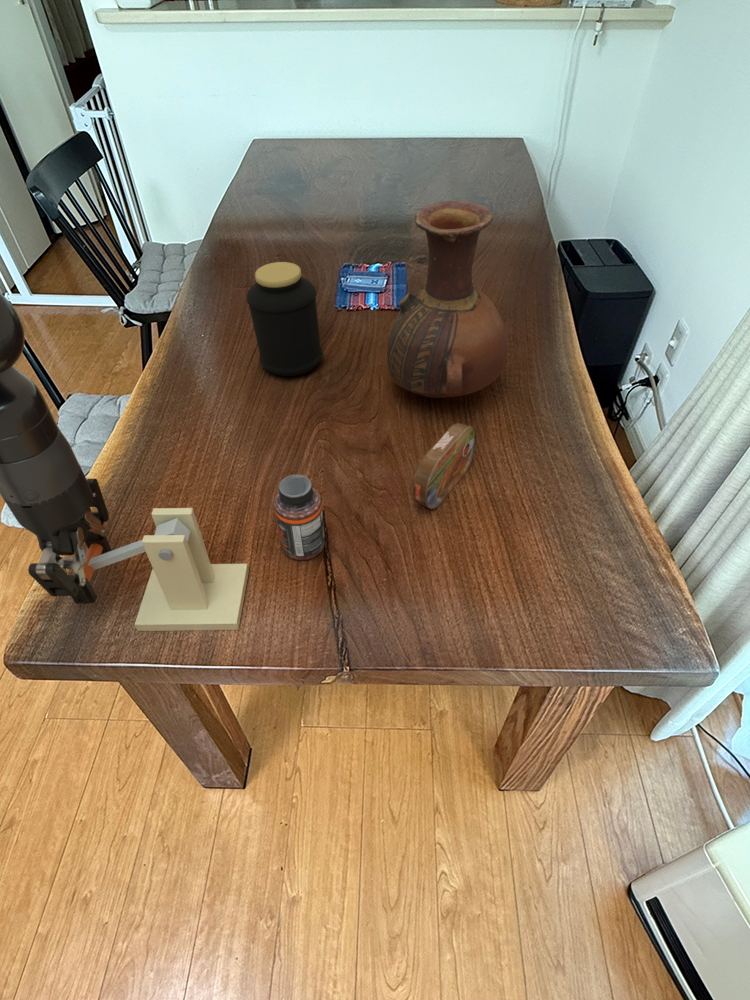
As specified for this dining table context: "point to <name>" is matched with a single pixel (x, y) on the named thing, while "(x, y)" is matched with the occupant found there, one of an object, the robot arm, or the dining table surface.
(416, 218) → the vase
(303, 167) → the dining table surface
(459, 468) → the tin
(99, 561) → the lever handle
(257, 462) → the dining table surface
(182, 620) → the cream lever stand
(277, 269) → the container
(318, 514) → the supplement bottle
